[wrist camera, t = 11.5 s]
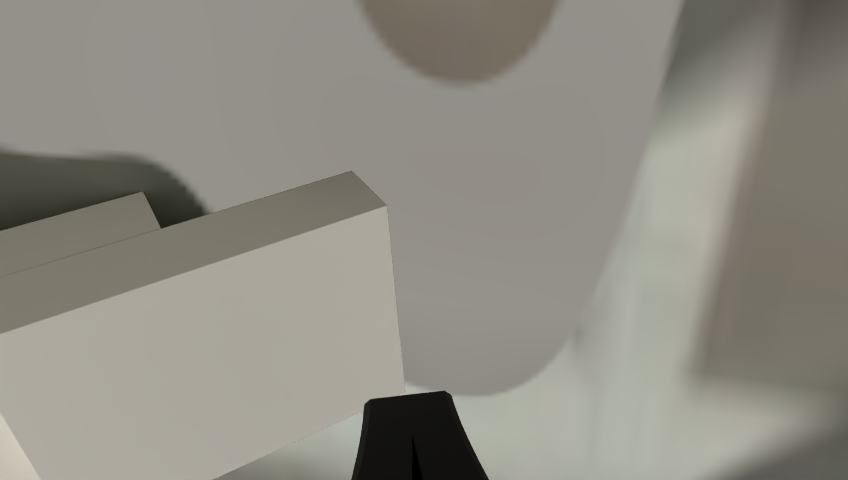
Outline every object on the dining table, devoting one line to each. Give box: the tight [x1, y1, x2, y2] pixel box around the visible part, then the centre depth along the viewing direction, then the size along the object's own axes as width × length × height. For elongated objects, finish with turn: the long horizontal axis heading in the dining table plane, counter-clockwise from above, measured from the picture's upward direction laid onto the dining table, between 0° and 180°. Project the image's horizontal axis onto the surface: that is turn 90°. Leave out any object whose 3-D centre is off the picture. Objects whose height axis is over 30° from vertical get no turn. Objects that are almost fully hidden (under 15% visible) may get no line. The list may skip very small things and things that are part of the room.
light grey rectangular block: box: [0, 171, 405, 480], centre depth 13 cm, size 2×5×7 cm
